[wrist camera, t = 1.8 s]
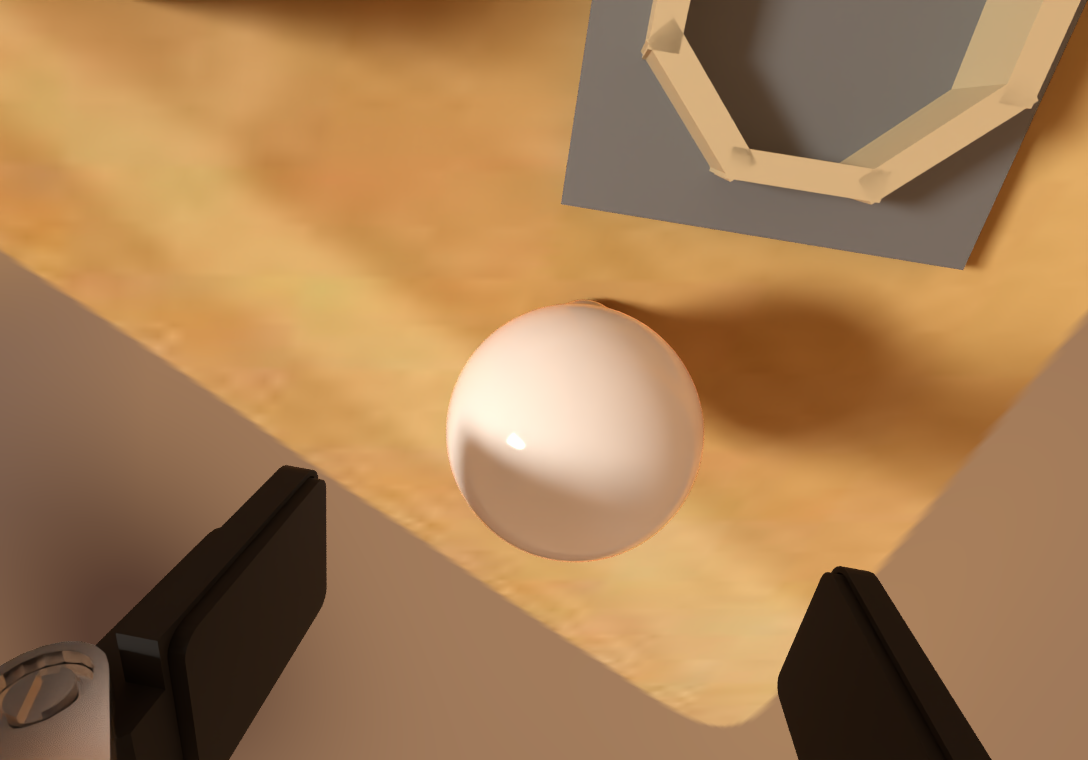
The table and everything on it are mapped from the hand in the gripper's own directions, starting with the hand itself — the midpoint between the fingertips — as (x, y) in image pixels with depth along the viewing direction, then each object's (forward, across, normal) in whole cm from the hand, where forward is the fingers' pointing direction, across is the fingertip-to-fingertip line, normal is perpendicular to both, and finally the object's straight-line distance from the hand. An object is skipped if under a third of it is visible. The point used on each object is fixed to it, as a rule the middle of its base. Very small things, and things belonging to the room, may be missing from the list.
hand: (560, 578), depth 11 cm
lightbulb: (+12, 0, -1) cm, 12 cm away
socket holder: (+12, -5, -12) cm, 18 cm away
